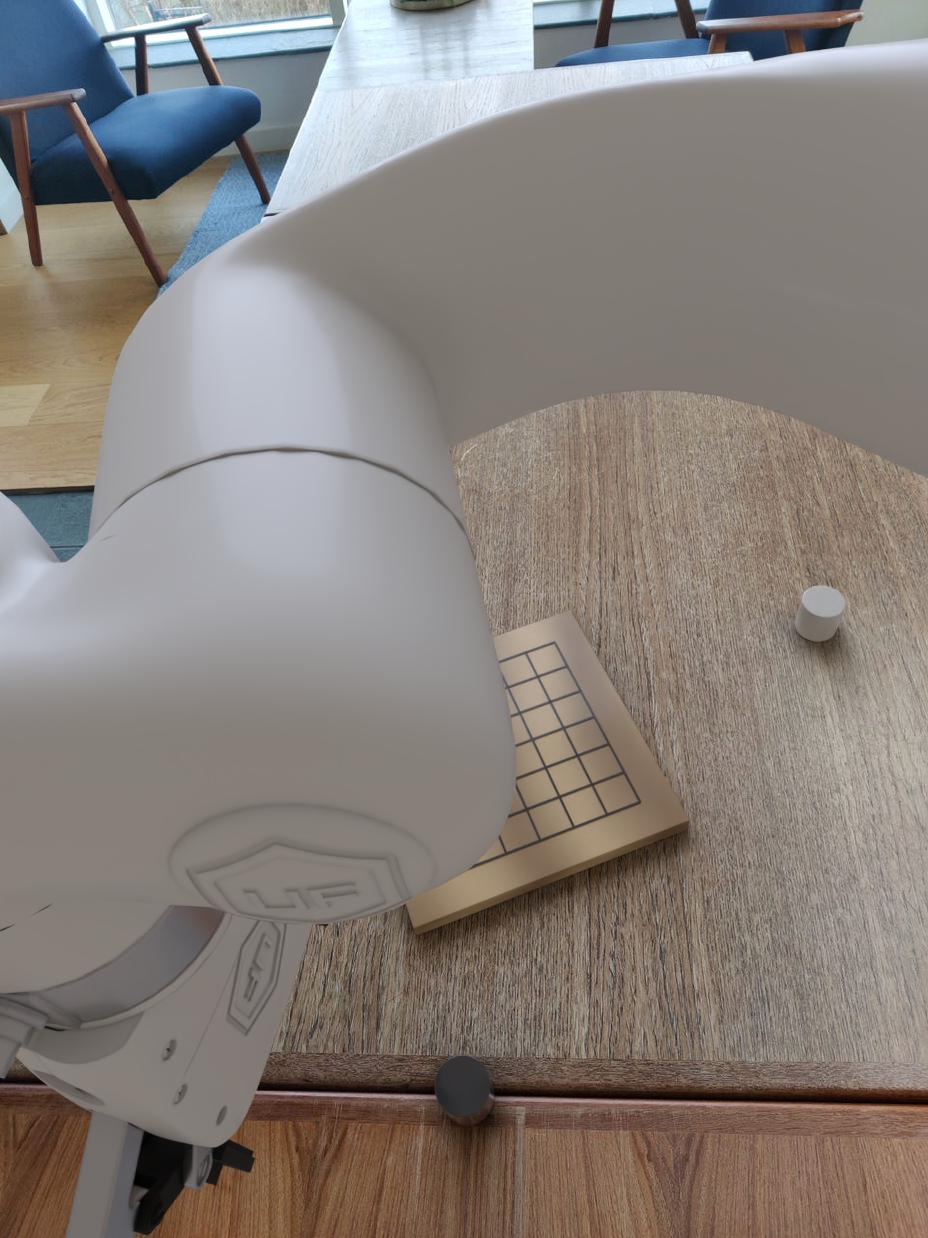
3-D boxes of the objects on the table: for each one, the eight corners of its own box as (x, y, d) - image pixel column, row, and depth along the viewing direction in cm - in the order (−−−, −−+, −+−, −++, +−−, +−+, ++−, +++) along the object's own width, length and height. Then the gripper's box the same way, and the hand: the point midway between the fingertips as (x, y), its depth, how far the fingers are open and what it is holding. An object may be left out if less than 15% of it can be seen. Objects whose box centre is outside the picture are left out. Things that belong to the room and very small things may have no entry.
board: (570, 620, 74) (570, 608, 72) (688, 829, 61) (690, 819, 60) (341, 701, 71) (337, 690, 70) (416, 936, 59) (413, 928, 58)
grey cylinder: (821, 605, 72) (830, 579, 69) (844, 634, 70) (854, 609, 67) (786, 618, 72) (794, 592, 69) (808, 647, 70) (817, 622, 67)
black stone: (483, 1057, 54) (478, 1045, 51) (502, 1113, 52) (498, 1104, 50) (434, 1078, 54) (427, 1067, 51) (451, 1135, 52) (444, 1126, 49)
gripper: (51, 1302, 18) (271, 1302, 32) (325, 633, 28) (404, 850, 42) (-241, 1202, 20) (87, 1243, 33) (116, 602, 30) (257, 821, 43)
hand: (263, 1024), depth 37 cm, fingers open, 9 cm apart
